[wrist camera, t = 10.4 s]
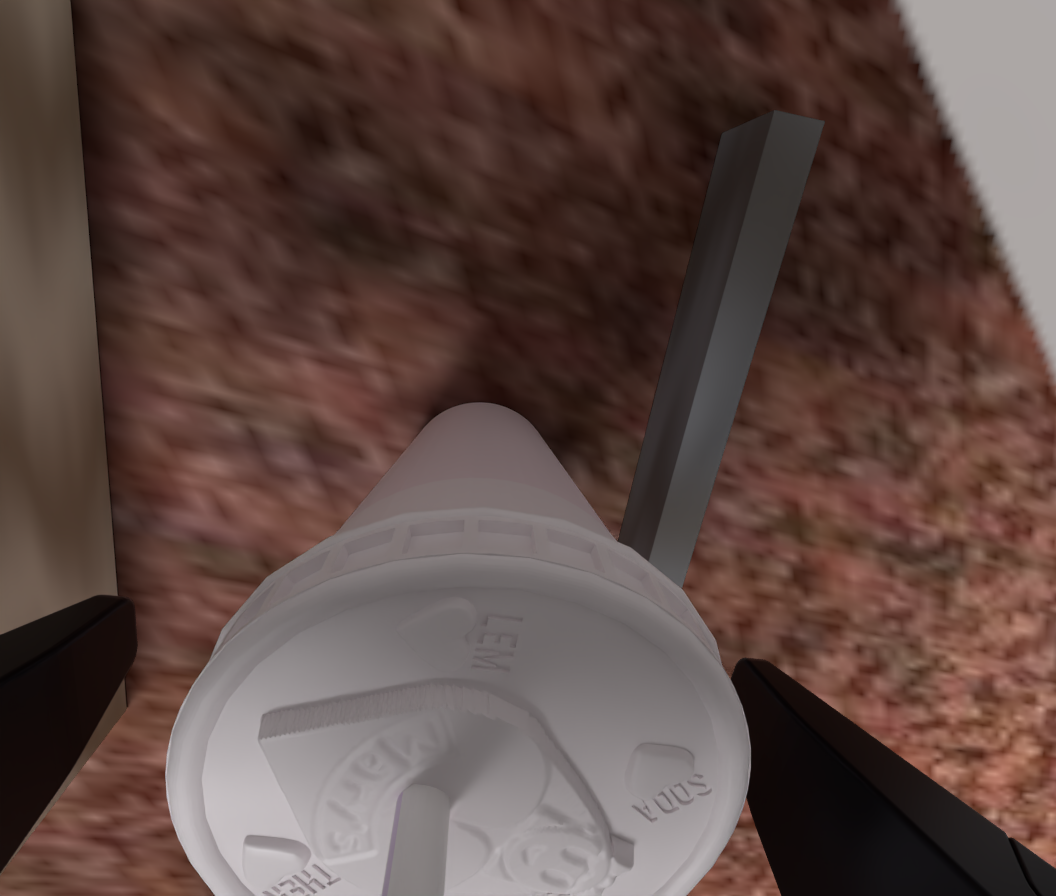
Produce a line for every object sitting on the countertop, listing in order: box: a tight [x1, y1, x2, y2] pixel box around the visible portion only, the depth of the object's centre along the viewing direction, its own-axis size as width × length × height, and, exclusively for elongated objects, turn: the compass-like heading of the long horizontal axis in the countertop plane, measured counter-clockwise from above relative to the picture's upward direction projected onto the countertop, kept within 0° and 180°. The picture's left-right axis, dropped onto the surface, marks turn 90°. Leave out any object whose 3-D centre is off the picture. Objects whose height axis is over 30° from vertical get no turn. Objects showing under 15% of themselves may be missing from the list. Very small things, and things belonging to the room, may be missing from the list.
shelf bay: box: [0, 0, 825, 875], centre depth 13 cm, size 18×16×5 cm
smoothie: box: [165, 402, 751, 896], centre depth 9 cm, size 6×6×14 cm
